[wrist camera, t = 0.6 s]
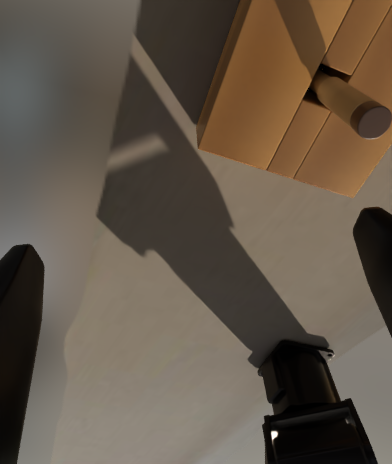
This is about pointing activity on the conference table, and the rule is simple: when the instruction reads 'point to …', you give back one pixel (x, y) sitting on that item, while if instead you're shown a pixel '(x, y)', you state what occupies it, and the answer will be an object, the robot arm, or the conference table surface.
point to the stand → (299, 89)
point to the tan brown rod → (352, 106)
